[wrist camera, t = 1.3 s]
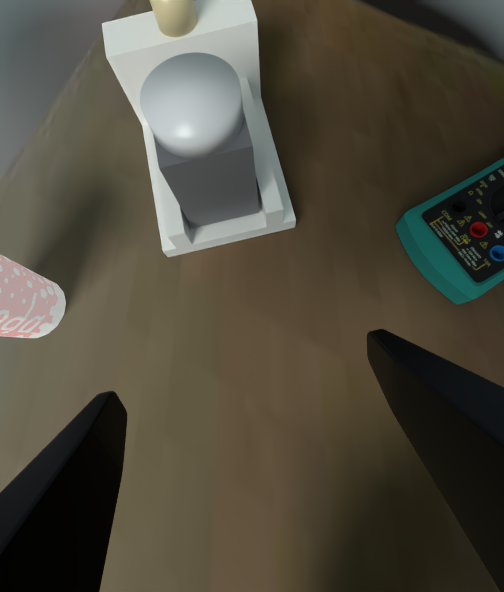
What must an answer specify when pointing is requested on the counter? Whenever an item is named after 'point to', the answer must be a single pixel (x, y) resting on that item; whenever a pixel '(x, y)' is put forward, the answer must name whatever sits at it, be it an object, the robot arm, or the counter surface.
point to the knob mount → (245, 61)
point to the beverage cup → (28, 302)
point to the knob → (201, 137)
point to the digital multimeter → (460, 236)
